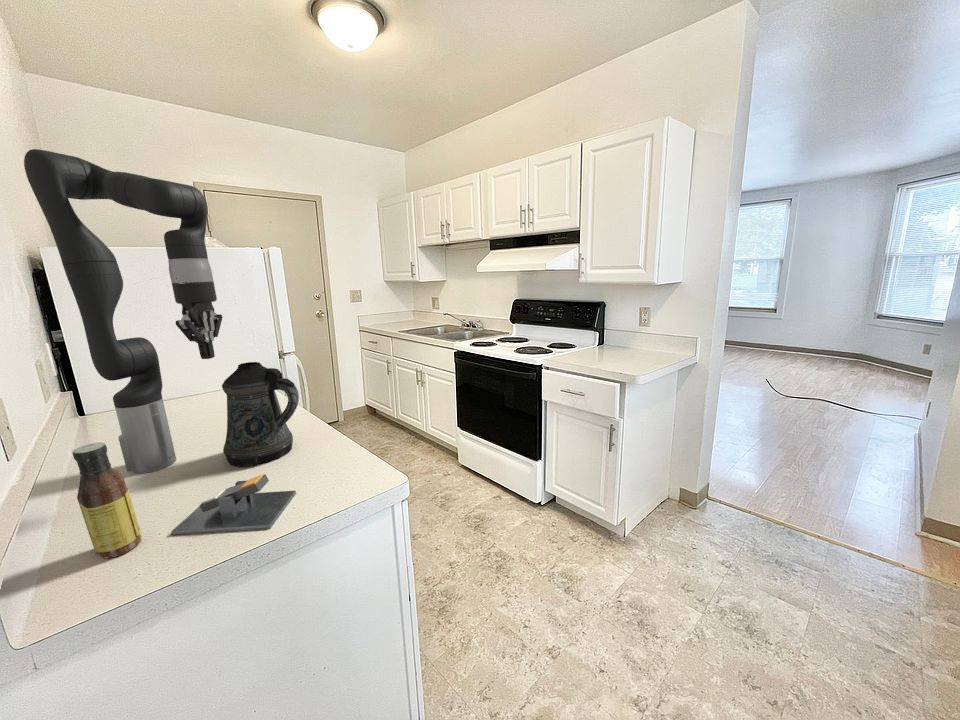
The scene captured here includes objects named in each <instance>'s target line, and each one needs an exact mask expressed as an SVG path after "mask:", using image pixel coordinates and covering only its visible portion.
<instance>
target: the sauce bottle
mask: <svg viewBox="0 0 960 720" xmlns="http://www.w3.org/2000/svg"><path fill="white" fill-rule="evenodd" d="M71 453H72V457H73V460H75V461H76V464H77V466H78V469H79V475H80V479H79V483H78V490H77V495H76V496H77V497H76V498H77V502H78V505H79V509H80V510H81V514H82V518H83V520H84V523H85V526H86V529H87V532H88V535H89V538H90V540H91V545H92V546H93V549H94V551H95V552H96V555H97V556H98V557H99V558H104V559H108V558H110V559H111V558H115V557H118V556H121V555H124V554H126V553H128V552H130V551H131V550H132V549H134V548H135V547H137V546H138V545H139V544H140V542H141V541H142V535H141V528H140V524H139V520H138V518H137V513H136V511H135V507H134V504H133V501H132V496H131V494H130V490H129V488H128V487H127V484H126V481H125V480H126V479H125V478H124V476H123V474H121V473H120V471H119V470H116V469H114V468H113V467H112V464H111V462H110V459H109V456H108V447H107V444H106V443H105V442H102V441H101V442H100V441H99V442H93V443H89V444H85V445H82V446H79V447H76V448H75V449H74V450H73V451H72V452H71Z"/></svg>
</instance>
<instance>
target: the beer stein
mask: <svg viewBox="0 0 960 720" xmlns="http://www.w3.org/2000/svg"><path fill="white" fill-rule="evenodd" d="M221 388H222V390H223V392H224V394H225V395H226V410H227V411H226V416H227V419H226V420H227V421H226V437H225V441H224V445H223V449H222V451H223V454H224V456H225V458H226V461H227V463H228V464H229V465H230V466H233V467H238V468H247V467H257V466H261V465H265V464H269V463H272V462H274V461H278V460H280V459H282V458H283V457H284V456H286V455H287V454H289V453H290V452H291V451H292V449H293V441H294V437H293V433H292V431H291V430H290V429H289V427H288V424H287V422H289V420H290V419H291V417H292V416H293V415H294V413H295V412H296V410H297V409H298V408H297V407H298V404H299V400H300V397H299V395H300V394H299V391H298V388H297V387H296V385H295V383H294V382H293V381H291V379H289V378H286V377H284V378H283V373H282V372H281V371H280V370H279V369H278V368H274V367H273V368H272V367H269V368H268V367H266V366H264V365H262V364H261V362H258V361H249V362H243V363H239V364H238V365H237V368H236V369H235V370H234V371H233V372H232V373H231V374H230V375H229V376H228V377H227V378H225V380H224V381H223V383H221ZM277 390H278V391H279V390H280V391H282V392H284V393H285V394H286V396H287V404H286V407H285V409H284V410H283V411H282V407H281V405H280V402H279V399H278V396H277V393H276V391H277Z"/></svg>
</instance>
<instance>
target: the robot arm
mask: <svg viewBox="0 0 960 720" xmlns="http://www.w3.org/2000/svg"><path fill="white" fill-rule="evenodd" d="M23 167H24V172H25V175H26V178H27V181H28V183H29V184H30V188H31V189H32V192H33V195H34V197H35V199H36V200H37V202H38V205H39V206H40V208H41V210H42V213H43V215H44V218H45V219H46V222H47V224H48V226H49V229H50V231H51V235H52V237H53V239H54V243H55V245H56V248H57V251H58V253H59V256H60V257H59V258H60V260H61V263H62V266H63V270H64V272H65V275H66V278H67V281H68V283H69V286H70V288H71V290H72V293H73V295H74V298H75V302H76V304H77V308H78V311H79V314H80V317H81V320H82V323H83V328H84V333H85V337H86V342H87V344H88V349H89V353H90V358H91V362H92V363H93V367H94V368H95V370H96V372H97V373H98V374H99V375H100V376H101V378H103V379H104V380H107V381H112V382H113V381H114V382H115V381H119V380H123V379H127V378H130V380H129V381H128V383H127V384H126V385H125V387H123V388H122V389H120V390H118V391H117V392H116V393H115V394H114V395H113V396H112V401H113V405H114V409H115V413H116V416H117V417H116V419H117V420H118V425H119V429H120V432H121V434H120V435H118V437H117V438H118V442H119V445H120V450H121V454H122V457H123V462H124V465H125V469H126V471H127V472H131V473H134V474H144V473H145V474H146V473H152V472H154V471H157V470H161V469H163V468H166V467H168V466H170V465H172V464H174V463H175V462H176V461H177V457H176V456H177V455H176V451H175V448H174V442H173V438H172V434H171V430H170V429H171V428H170V424H169V422H168V421H169V420H168V416H167V412H166V408H165V404H164V399H163V398H164V397H163V395H162V390H163V379H162V374H161V373H162V372H161V367H160V361H159V355H158V352H157V350H156V347H155V346H154V344H153V343H152V342H151V341H150V340H149V339H147V338H145V337H138V336H137V337H130V338H123V339H117V336H116V333H115V328H114V314H115V311H116V308H117V306H118V304H119V301H120V299H121V296H122V292H123V288H124V279H123V275H122V273H121V270H120V266H119V263H118V261H117V258H116V256H115V254H114V253H113V252H112V250H111V249H110V248H109V247H108V246H107V245H106V244H105V243H104V242H103V241H102V240H101V239H100V238H99V237H98V236H97V234H96V235H95V233H93V231H91V230H90V229H89V228H88V226H87V225H85V224H84V223H83V221H81V220H80V218H79V217H78V215H77V214H76V212H75V210H74V208H73V206H72V204H71V203H70V200H69V199H71V200H82V201H85V200H111V201H113V202H115V203H117V204H118V205H122V206H125V207H127V208H131V209H137V210H141V211H145V212H147V213H149V214H151V215H152V214H153V215H157V216H159V217H166V218H174V219H180V225H179V228H177V229H171V230H168V231H165V233H164V235H163V240H164V245H165V246H164V247H165V250H166V255H167V259H168V271H169V272H168V273H169V276H170V280H171V286H172V290H173V291H172V292H173V295H174V296H173V297H174V300H175V303H176V304H179V305H181V307H182V308H181V315H182V317H181V319H180V320H175V326H176V327H177V328H178V329H179V331H180V332H181V333H182V334H183V335H184V337H185V338H187V340H188V341H189V342H195V344H196V343H197V346H198V347H197V348H198V351H199V356H200V358H201V359H202V360H210V359H212V358H215V356H216V355H215V349H214V344H213V343H214V342H213V341H214V340H215V338H217V337H219V333H220V329H221V325H222V321H223V314H221V313H220V314H219V313H216V312H215V307H214V305H213V304H212V303H215V302H216V301H217V299H218V298H217V293H216V287H215V283H214V281H215V280H214V277H213V269H212V267H211V264H210V262H209V258H208V253H207V252H208V251H207V246H206V241H205V239H206V232H207V231H206V230H207V221H208V213H209V209H208V207H209V206H208V202H207V200H206V198H205V196H204V194H203V193H202V191H200V190H199V188H197V187H195V186H193V185H189V184H186V183H179V182H175V181H170V180H164V179H159V178H153V177H148V176H145V175H142V174H141V175H140V174H136V173H130V172H125V171H112V170H109V169H106V168H104V167H101V166H99V165H98V164H96V163H93V162H91V161H88V160H86V159H84V158H80V157H77V156H73V155H68V154H63V153H59V152H54V151H50V150H45V149H38V148H33V149H29V150H27V152H26V153H25V154H24V158H23Z"/></svg>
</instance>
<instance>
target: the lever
mask: <svg viewBox="0 0 960 720" xmlns="http://www.w3.org/2000/svg"><path fill="white" fill-rule="evenodd" d="M245 481H246V482H243V483H241V484H238V485H235V484H234V485H233V486H230V487H228V488H222V489H220V490H217V491H214V492H212V493H210V494H209V495H208V496H207V497H205V499H204V500H202V501H201V502H200V504H199V505H198V507H199V506H200V508H201V509H202V511H203V512H206V511H208V510H211V509H214V508H216V507H219V504H218V499H219V498H220V497H229V496H234V501H235V500H238V499H240V498H243V497H245V496H248V495H251V494H253V493H260V491H261V490H262V489H263V488H264V487H265V486H266V484H268V483H269V481H270V480H269V478H268V476H267V474H259V475H257V476H254V477H252V478H249V479H248V481H247V480H245Z"/></svg>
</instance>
